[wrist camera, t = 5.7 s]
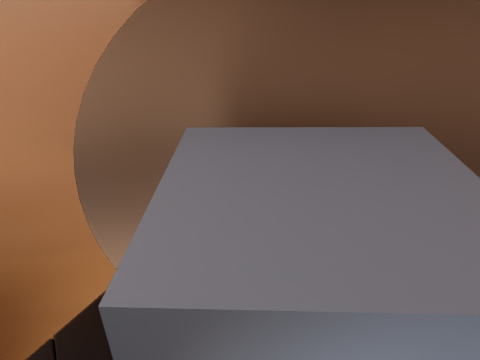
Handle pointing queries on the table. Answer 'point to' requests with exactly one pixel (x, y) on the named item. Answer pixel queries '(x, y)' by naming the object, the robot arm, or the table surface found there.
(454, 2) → the brown disc
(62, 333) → the robot arm
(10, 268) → the table surface
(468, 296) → the blue cube
